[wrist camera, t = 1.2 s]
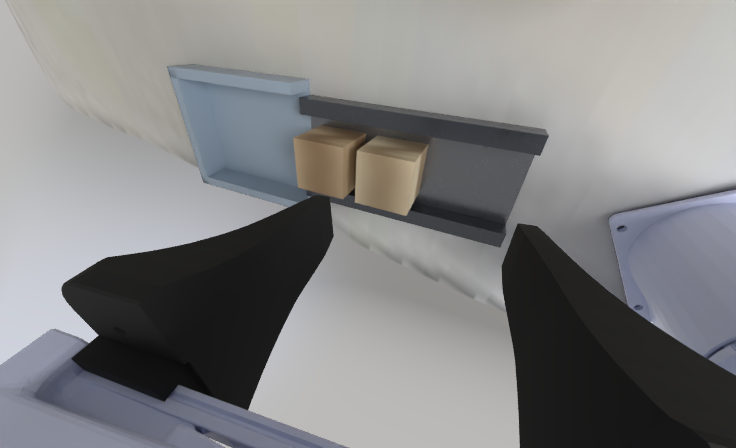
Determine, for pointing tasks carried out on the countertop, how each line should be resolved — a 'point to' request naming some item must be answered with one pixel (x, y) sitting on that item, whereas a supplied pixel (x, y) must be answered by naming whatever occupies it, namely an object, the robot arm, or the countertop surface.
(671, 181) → the countertop surface
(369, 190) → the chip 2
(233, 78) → the tray
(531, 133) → the slot rail
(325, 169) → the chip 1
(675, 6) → the countertop surface
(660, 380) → the robot arm
